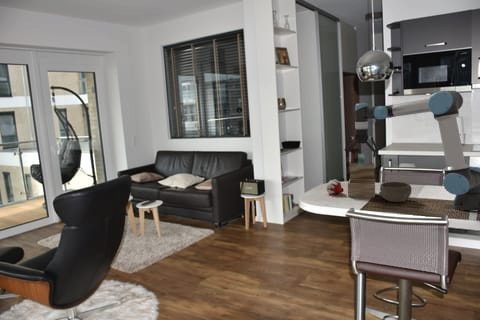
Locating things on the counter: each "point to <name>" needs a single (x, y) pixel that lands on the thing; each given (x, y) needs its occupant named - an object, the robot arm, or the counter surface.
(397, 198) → the bowl
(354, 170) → the flap
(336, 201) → the counter surface
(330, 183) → the red and white lump
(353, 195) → the carton
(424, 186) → the counter surface
